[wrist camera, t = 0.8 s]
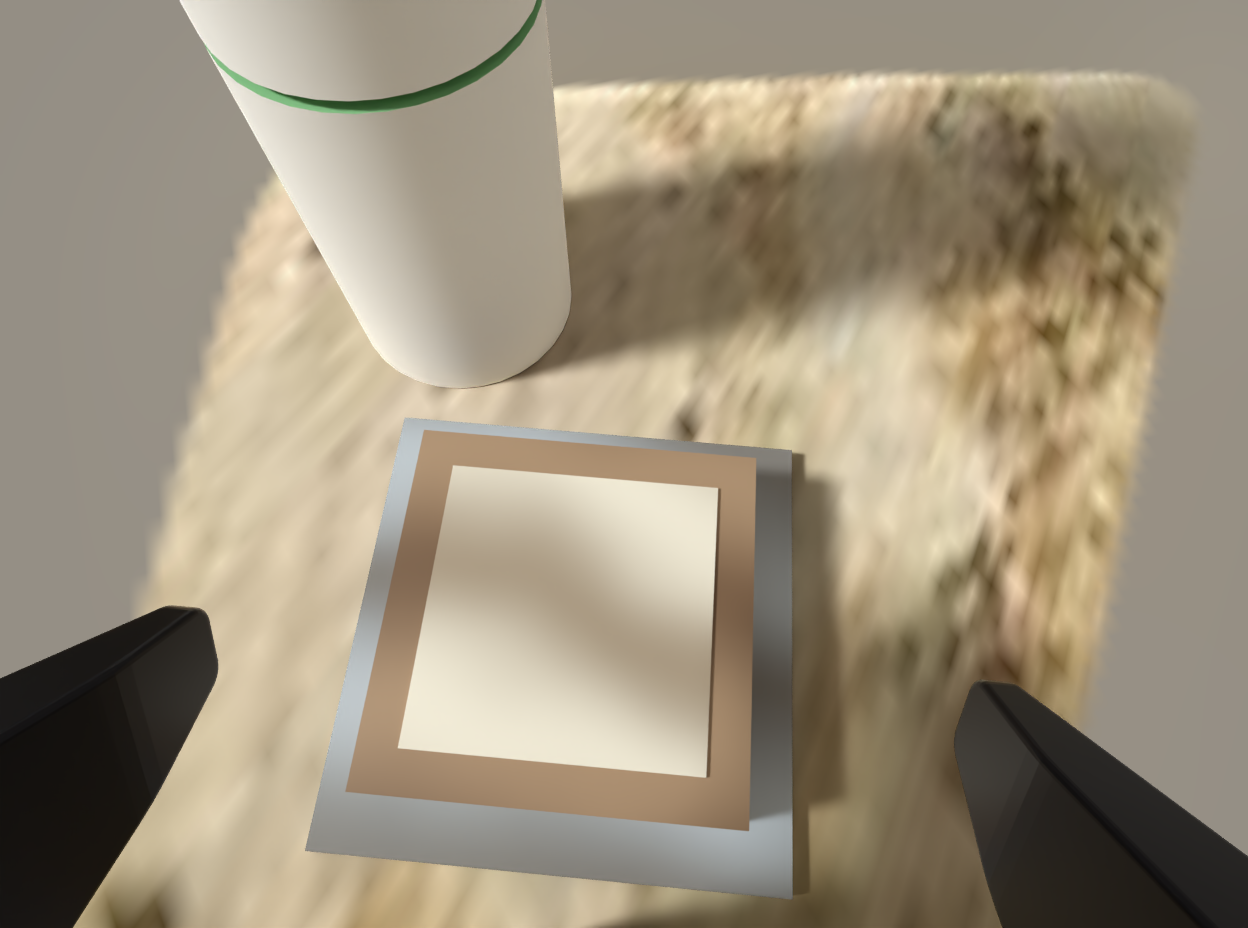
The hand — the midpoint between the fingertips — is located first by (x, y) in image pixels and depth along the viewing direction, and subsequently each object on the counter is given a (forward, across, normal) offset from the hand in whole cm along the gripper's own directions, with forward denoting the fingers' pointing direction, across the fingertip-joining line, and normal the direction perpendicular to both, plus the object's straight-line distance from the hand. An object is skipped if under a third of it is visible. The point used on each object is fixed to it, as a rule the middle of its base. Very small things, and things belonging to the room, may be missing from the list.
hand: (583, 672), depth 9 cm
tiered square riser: (+10, +1, +7) cm, 12 cm away
